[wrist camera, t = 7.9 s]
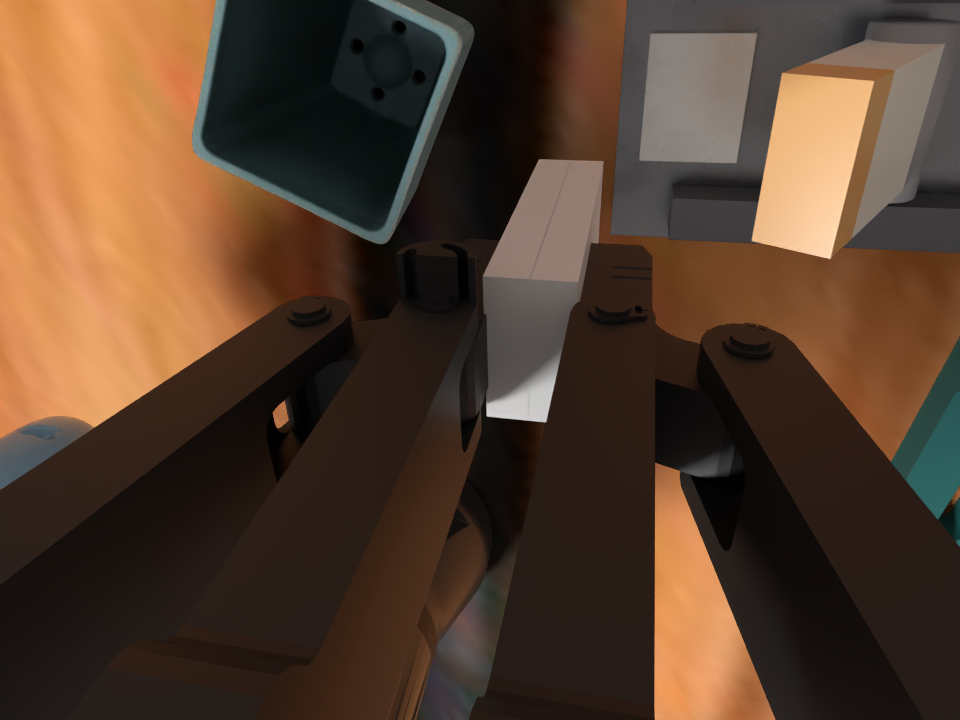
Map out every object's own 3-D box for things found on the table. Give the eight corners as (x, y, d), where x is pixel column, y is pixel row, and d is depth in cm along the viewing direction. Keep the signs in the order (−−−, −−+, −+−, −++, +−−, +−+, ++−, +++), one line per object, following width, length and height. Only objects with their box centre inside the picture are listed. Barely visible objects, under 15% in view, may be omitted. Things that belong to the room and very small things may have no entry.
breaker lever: (843, 175, 30) (739, 253, 23) (882, 16, 26) (774, 52, 20) (923, 188, 28) (836, 277, 21) (975, 20, 25) (891, 61, 18)
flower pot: (282, 106, 36) (185, 154, 28) (328, -83, 31) (227, -85, 23) (439, 183, 36) (385, 250, 29) (509, 8, 31) (466, 34, 24)
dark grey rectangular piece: (667, 224, 32) (668, 239, 30) (699, -53, 26) (702, -52, 25) (1041, 240, 29) (1063, 257, 28) (1166, -65, 24) (1202, -65, 22)
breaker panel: (613, 212, 35) (610, 236, 32) (633, -70, 29) (632, -70, 26) (1068, 231, 31) (1107, 259, 29) (1203, -88, 25) (1270, -90, 23)
